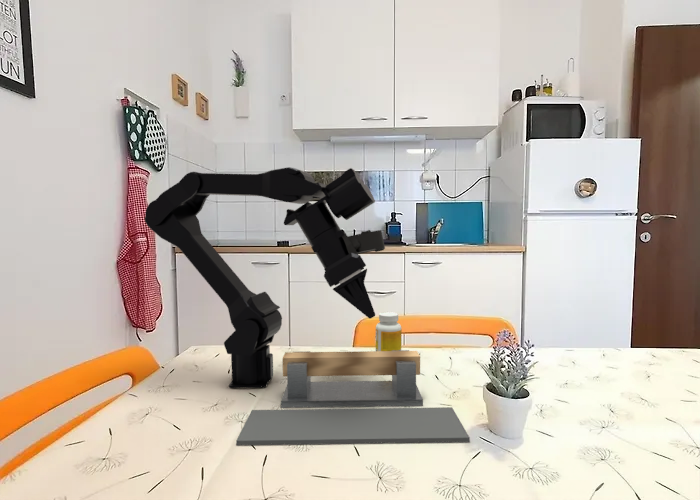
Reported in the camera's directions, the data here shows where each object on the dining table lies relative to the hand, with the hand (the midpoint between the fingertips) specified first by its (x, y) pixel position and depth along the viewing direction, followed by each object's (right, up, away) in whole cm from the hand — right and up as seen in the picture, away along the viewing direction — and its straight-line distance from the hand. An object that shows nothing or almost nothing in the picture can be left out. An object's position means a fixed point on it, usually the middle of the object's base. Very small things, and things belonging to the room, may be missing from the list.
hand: (371, 314), depth 70 cm
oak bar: (-3, -9, -1) cm, 10 cm away
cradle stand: (-3, -13, -1) cm, 14 cm away
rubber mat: (-3, -14, -11) cm, 18 cm away
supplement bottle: (+4, -12, +18) cm, 22 cm away
